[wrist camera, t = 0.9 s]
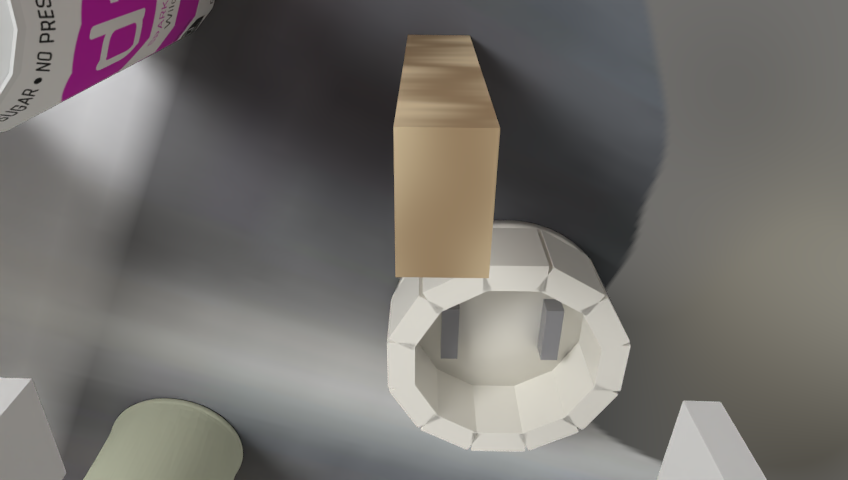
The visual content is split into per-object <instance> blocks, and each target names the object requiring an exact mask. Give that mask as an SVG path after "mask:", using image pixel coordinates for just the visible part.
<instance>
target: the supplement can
mask: <svg viewBox="0 0 848 480" xmlns="http://www.w3.org/2000/svg"><path fill="white" fill-rule="evenodd" d="M214 1H215V0H0V132H5V131H8V130H10V129H12V128H14V127H16V126H18V125H20V124H21V123H23V122H25V121H27V120H29V119H31V118H33V117H35V116H37V115H39V114H40V113H42V112H44V111H46V110H48V109H50V108H52V107H54V106H56V105H57V104H59V103H61V102H63V101H65V100H67V99H69V98H71V97H73V96H74V95H76V94H78V93H80V92H82V91H84V90H86V89H88V88H90V87H91V86H93V85H95V84H97V83H99V82H101V81H103V80H105V79H107V78H108V77H110V76H112V75H114V74H116V73H118V72H120V71H122V70H124V69H125V68H127V67H129V66H131V65H133V64H135V63H137V62H139V61H141V60H143V59H144V58H146V57H148V56H150V55H152V54H154V53H156V52H158V51H160V50H161V49H163V48H165V47H167V46H169V45H171V44H173V43H175V42H176V41H178V40H180V39H182V38H184V37H185V36H187V35H189V34H191V33H193V32H194V31H196V29H197V28H198V27H199V25H200V24H201V23H202V21H203V20H204V19H205V17H206V16H207V15H208V14H209V12H210V11H211V10H212V8H213V5H214Z"/></svg>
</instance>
